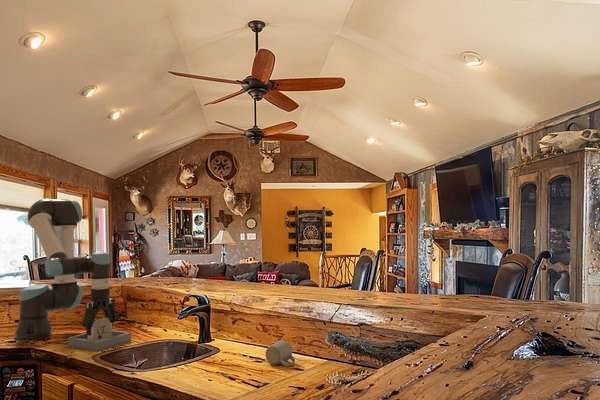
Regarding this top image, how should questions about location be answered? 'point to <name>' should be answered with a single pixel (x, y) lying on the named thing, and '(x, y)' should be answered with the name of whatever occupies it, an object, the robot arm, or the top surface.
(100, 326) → the electrical switch
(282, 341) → the ceramic mug
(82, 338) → the parts tray
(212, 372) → the top surface
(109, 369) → the top surface
